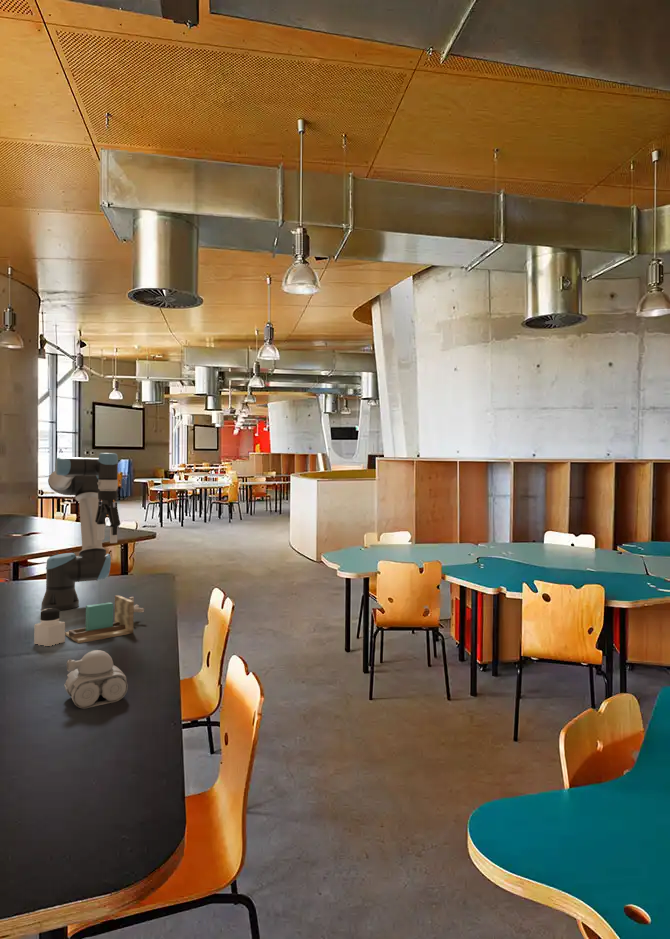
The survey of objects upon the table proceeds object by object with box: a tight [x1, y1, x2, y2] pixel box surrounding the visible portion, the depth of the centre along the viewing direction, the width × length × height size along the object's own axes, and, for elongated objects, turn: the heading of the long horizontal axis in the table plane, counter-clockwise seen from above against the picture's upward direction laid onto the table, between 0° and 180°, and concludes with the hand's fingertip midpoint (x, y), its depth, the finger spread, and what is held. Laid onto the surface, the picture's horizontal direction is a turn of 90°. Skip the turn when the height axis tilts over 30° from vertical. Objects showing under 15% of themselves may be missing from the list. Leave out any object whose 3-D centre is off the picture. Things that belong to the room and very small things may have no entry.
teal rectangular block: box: [85, 601, 114, 631], centre depth 217 cm, size 3×9×10 cm, turn 133°
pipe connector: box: [128, 596, 145, 613], centre depth 234 cm, size 10×10×10 cm
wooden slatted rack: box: [65, 594, 135, 644], centre depth 217 cm, size 14×20×12 cm
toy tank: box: [63, 649, 129, 709], centre depth 156 cm, size 15×11×13 cm
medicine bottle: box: [33, 608, 66, 647], centre depth 205 cm, size 7×7×12 cm
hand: (107, 541), depth 241 cm, fingers open, 13 cm apart
